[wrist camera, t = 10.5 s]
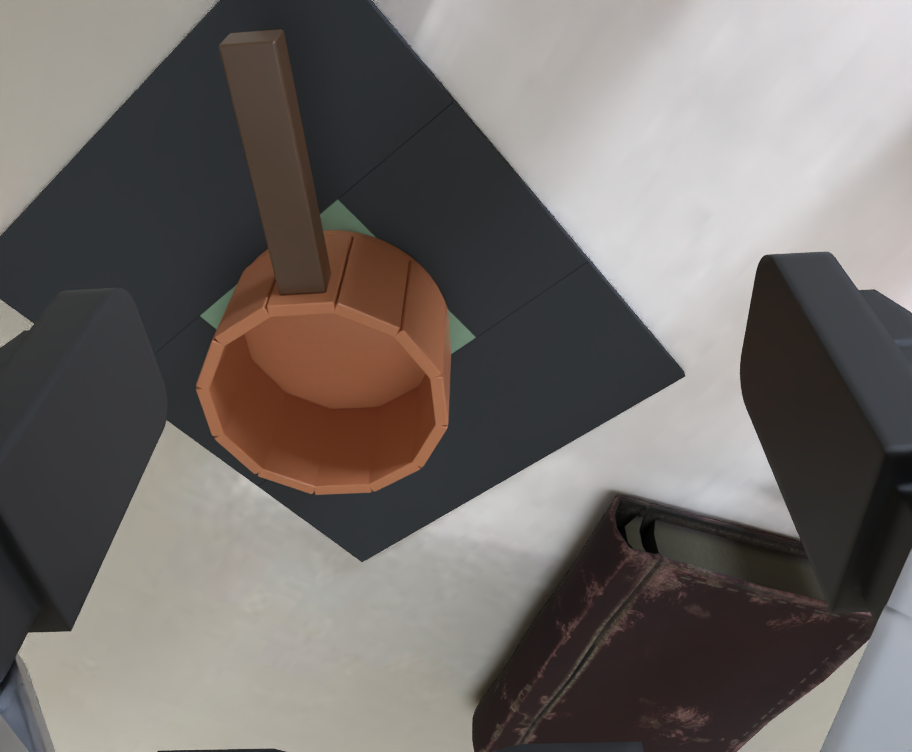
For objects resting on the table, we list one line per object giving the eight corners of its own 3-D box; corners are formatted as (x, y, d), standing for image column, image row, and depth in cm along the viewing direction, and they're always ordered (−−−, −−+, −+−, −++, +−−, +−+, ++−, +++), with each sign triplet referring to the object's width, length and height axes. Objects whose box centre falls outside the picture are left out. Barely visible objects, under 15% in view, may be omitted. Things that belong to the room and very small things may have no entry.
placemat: (-31, 270, 40) (-35, 274, 40) (299, -85, 31) (297, -84, 30) (362, 557, 53) (362, 562, 53) (684, 371, 43) (685, 376, 43)
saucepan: (457, 404, 44) (455, 489, 39) (260, 414, 45) (233, 498, 40) (416, -10, 32) (405, 36, 27) (143, 12, 32) (81, 61, 27)
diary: (468, 701, 63) (468, 765, 59) (605, 486, 49) (617, 552, 45) (683, 745, 66) (696, 808, 62) (871, 557, 52) (903, 623, 48)
